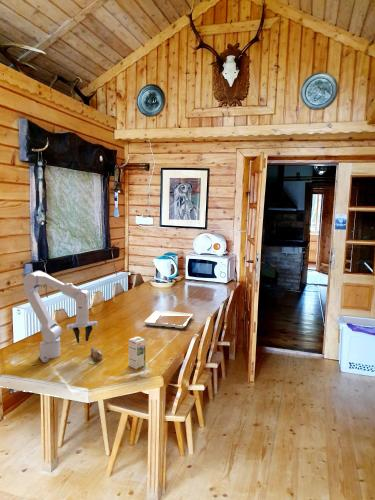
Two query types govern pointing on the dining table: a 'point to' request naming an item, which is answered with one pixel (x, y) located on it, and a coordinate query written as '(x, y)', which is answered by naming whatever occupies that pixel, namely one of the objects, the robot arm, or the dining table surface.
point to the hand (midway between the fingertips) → (82, 341)
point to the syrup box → (137, 352)
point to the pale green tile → (91, 362)
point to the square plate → (156, 314)
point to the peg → (96, 354)
